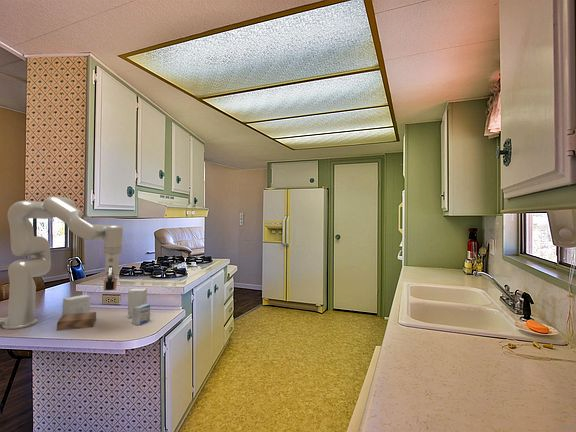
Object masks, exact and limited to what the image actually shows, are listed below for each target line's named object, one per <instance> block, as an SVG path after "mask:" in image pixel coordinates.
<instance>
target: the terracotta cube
mask: <svg viewBox="0 0 576 432" xmlns="http://www.w3.org/2000/svg"><path fill="white" fill-rule="evenodd" d="M106 281H107V277H105V278H104V280H103V289H102V290H103V291H105V292H106V291H107V292H108V290H106ZM113 281H114V289H113V290H112V291H116V290H117V284H118V277H115V278H114V279H113Z"/></svg>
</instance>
